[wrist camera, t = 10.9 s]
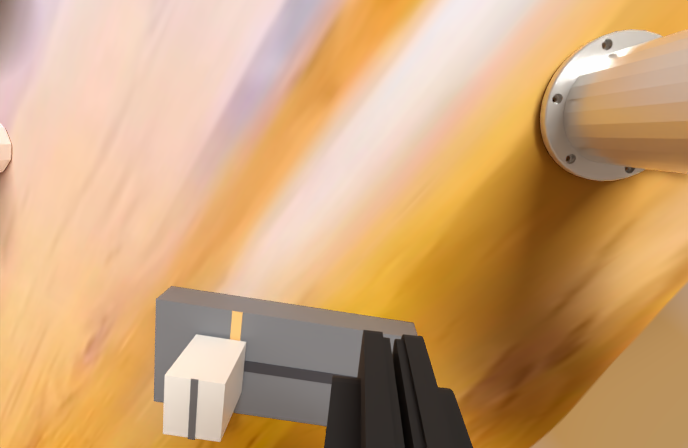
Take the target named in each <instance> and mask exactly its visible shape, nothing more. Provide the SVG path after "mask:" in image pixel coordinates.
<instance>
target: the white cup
mask: <svg viewBox="0 0 688 448" xmlns="http://www.w3.org/2000/svg"><path fill="white" fill-rule="evenodd" d="M11 147H12V144H11V141H10V139H9V136H8V134H7V131H6V129H5V127H4V126H3V125H2V124H1V123H0V173H1V172H3V171H4V170H5V168H6V167H7V165H8V163H9V162H10V160H11Z"/></svg>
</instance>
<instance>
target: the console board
mask: <svg viewBox="0 0 688 448" xmlns="http://www.w3.org/2000/svg"><path fill="white" fill-rule="evenodd" d="M363 330H370V331H379V332H383V337H386V338H390V343H391V350H392V352H393V345H394V340H395V339H401V337H402V335H403V334H406V335H415V336H418V335H417V332H416V329H415V326H414V323H411V322H405V321H398V320H391V319H385V318H378V317H372V316H365V315H358V314H352V313H345V312H339V311H332V310H326V309H319V308H312V307H306V306H299V305H293V304H286V303H279V302H273V301H266V300H260V299H253V298H246V297H240V296H233V295H227V294H220V293H213V292H207V291H200V290H194V289H187V288H180V287H174V286H171V287H170V288H169V289H168V290H166V291H165V292H164V293H163V294H162V295H160V296H159V297H158V298H157V299H156V327H155V376H154V401H156V402H163V403H164V380H165V374H166V373H167V371H168V370H169V369H170V368H171V366H172V365H173V364H174V362H175V361H176V360H177V359H178V357H179V356H180V355H181V353H182V352H183V351H184V349H185V348H186V347H187V346H188V344H189V343H190V342H191V340H192V339H193V338H194V336H195V335H196V334H197V335H204V336H211V337H217V338H224V339H231V340H238V341H244V342H246V351H245V361H244V372H243V382H242V392H241V395H240V397H239V399H238V402H237V404H236V406H235V409H234V411H233V413H239V414H246V415H253V416H260V417H267V418H274V419H281V420H287V421H294V422H301V423H308V424H315V425H322V426H327V420H328V411H329V402H330V394H331V385H332V377H333V375H335V376H344V377H353V378H357V375H358V367H359V360H360V352H361V344H362V336H363Z"/></svg>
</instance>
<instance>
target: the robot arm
mask: <svg viewBox="0 0 688 448" xmlns="http://www.w3.org/2000/svg"><path fill="white" fill-rule="evenodd" d="M552 98H554V102H553V101H552ZM540 129H541V134H542V138H543V142H544V144H545V146H546V148H547V150H548V153H549V154H550V155H551V157H552V158H553V159H554V161H555V162H556V163H557V164H558V165H560V166H561V167H562V168H563V169H564V170H566V171H568V172H569V173H571V174H573V175H575V176H578V177H582V178H586V179H591V180H597V181H614V180H619V179H623V178H628V177H630V176H633V175H635V174H638V173H640V172H642V171H644V170H645V169H650V170H658V171H667V172H675V173H683V174H688V29H686V30H683V31H680V32H677V33H673V34H670V35H667V36H664V37H663V36H661V35H659V34H656V33H653V32H650V31H646V30H633V29H630V30H623V31H616V32H613V33H610V34H607V35H604V36H601V37H599V38H597V39H594V40H592V41H590V42H588V43H586V44H585V45H583V46H582V47H580V48H579V49H577V50H576V51H574V52H573V53H572V54H571V55H570V56H569V57H568V58H567V59H566V60H565V61H564V62H563V63H562V64H561V66H560V67H559V68H558V70H557V71H556V72H555V74H554V75H553V77H552V79H551V81H550V83H549V85H548V86H547V89H546V92H545V95H544V98H543V101H542V106H541V113H540ZM566 157H567V160H566ZM324 448H473V446H472V444H471V441H470V438H469V435H468V432H467V429H466V427H465V424H464V421H463V418H462V415H461V412H460V409H459V407H458V404H457V401H456V398H455V395H454V393H453V391H452V390H451V389H448V388H440V387H438V386H437V383H436V379H435V376H434V373H433V369H432V366H431V363H430V359H429V356H428V352H427V349H426V346H425V342H424V339H423V337H422V336H415V335H406V334H403V335H402V337H401V339H395V340H394V345H393V352H392V350H391V343H390V338H386V337H383V332H379V331H370V330H363V336H362V344H361V352H360V360H359V367H358V375H357V378H353V377H344V376H335V375H333V377H332V385H331V394H330V402H329V411H328V420H327V428H326V437H325V445H324Z"/></svg>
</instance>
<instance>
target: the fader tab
mask: <svg viewBox="0 0 688 448" xmlns="http://www.w3.org/2000/svg"><path fill="white" fill-rule="evenodd" d="M245 351H246V342H244V341H238V340H231V339H224V338H217V337H211V336H204V335H197V334H196V335H195V336H194V338H193V339H192V340H191V342H190V343H189V344H188V346H187V347H186V348H185V349H184V351H183V352H182V353H181V355H180V356H179V357H178V359H177V360H176V361H175V362H174V364H173V365H172V366H171V368H170V369H169V370H168V371H167V373H166V374H165V380H164V414H163V434H168V435H175V436H182V437H188V439H192V440H195V438H196V439H203V440H210V441H217V442H221V439H222V437H223V435H224V432H225V430H226V428H227V425H228V423H229V421H230V418H231V416H232V413H233V411H234V409H235V406H236V404H237V402H238V399H239V397H240V395H241V392H242V382H243V372H244V361H245Z"/></svg>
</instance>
